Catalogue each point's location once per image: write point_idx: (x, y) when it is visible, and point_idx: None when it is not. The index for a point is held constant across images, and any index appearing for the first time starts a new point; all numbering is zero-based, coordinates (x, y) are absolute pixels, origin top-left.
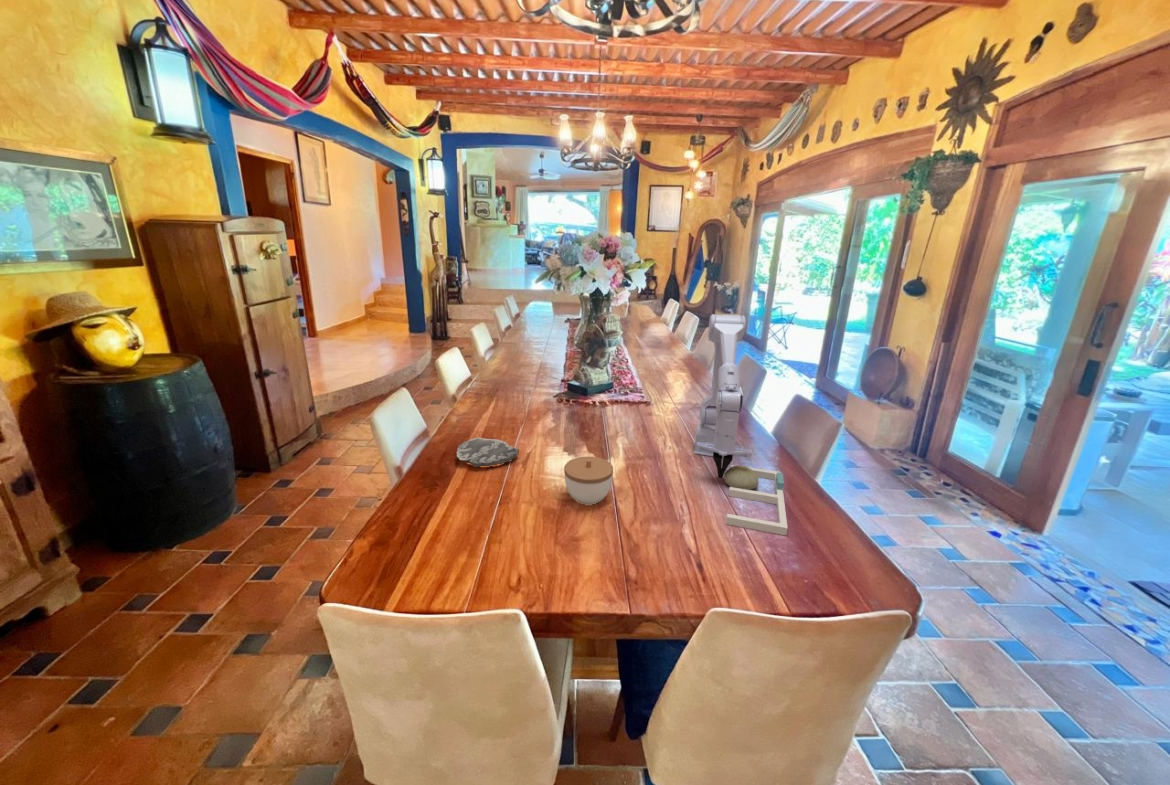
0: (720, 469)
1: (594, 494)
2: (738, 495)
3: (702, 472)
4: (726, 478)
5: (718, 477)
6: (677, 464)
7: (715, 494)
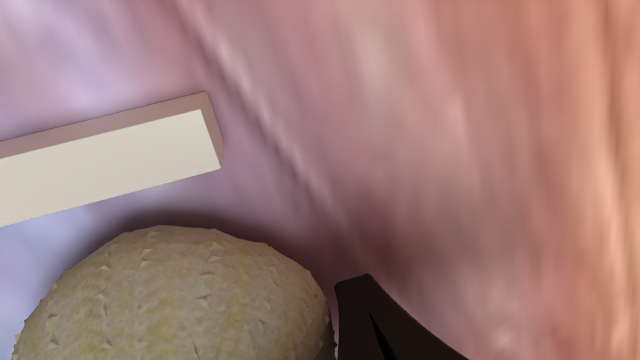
0: (390, 338)
1: None
2: (105, 119)
3: (476, 304)
4: (298, 283)
5: (368, 276)
6: (627, 296)
7: (323, 52)
